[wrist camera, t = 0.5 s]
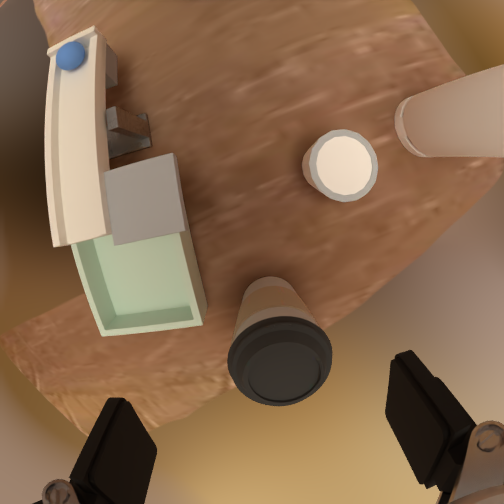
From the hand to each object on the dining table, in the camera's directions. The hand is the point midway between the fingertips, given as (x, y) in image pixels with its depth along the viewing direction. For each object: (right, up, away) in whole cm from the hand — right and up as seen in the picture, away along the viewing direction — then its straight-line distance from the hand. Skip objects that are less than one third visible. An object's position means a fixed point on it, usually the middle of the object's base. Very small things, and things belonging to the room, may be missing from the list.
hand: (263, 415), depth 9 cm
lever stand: (-16, +19, +22) cm, 33 cm away
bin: (-14, +5, +25) cm, 29 cm away
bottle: (+21, +22, +22) cm, 37 cm away
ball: (-17, +24, +10) cm, 31 cm away
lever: (-13, +17, +16) cm, 26 cm away
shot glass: (+8, +15, +23) cm, 29 cm away
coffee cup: (+2, -1, +27) cm, 27 cm away
